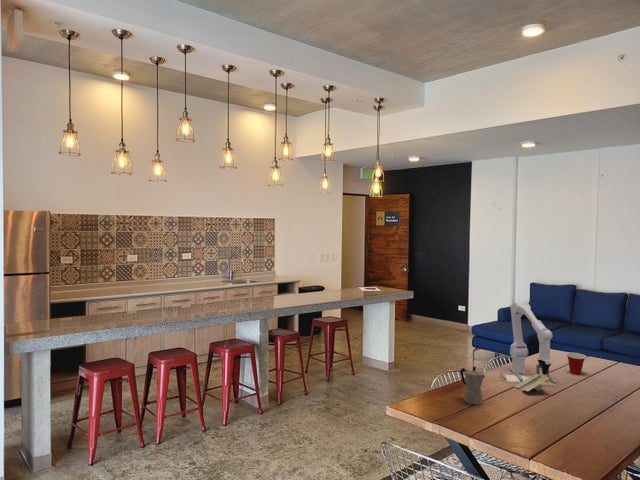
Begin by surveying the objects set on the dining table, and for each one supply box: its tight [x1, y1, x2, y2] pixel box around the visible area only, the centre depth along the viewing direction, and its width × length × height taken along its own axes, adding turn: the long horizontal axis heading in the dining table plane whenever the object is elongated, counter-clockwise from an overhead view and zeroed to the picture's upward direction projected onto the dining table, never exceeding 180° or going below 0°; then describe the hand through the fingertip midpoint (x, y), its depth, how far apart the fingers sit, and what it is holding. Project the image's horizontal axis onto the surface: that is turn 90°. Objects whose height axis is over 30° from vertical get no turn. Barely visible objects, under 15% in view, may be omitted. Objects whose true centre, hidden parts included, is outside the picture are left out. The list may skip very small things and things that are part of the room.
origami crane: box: [514, 373, 549, 392], centre depth 268 cm, size 16×9×15 cm
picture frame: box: [535, 364, 550, 378], centre depth 283 cm, size 4×6×7 cm, turn 79°
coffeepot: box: [459, 366, 486, 405], centre depth 250 cm, size 15×9×18 cm, turn 33°
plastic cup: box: [566, 352, 587, 376], centre depth 302 cm, size 11×11×12 cm
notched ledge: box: [499, 371, 557, 387], centre depth 285 cm, size 12×28×2 cm, turn 79°
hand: (543, 373), depth 283 cm, fingers closed on picture frame, 4 cm apart
